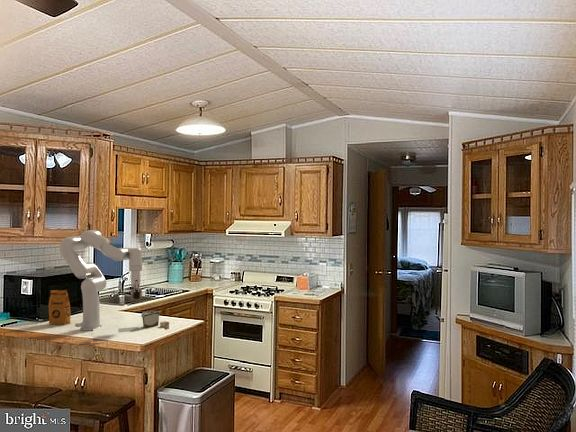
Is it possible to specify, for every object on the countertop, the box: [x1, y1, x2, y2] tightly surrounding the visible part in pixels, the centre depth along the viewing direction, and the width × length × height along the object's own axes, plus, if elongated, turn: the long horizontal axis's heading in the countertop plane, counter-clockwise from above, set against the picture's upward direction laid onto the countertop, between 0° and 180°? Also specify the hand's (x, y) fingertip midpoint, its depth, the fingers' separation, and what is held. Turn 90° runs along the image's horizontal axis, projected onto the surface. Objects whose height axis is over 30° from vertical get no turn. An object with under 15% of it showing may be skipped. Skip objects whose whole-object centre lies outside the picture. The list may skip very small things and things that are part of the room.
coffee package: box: [48, 289, 71, 326], centre depth 308 cm, size 10×12×22 cm
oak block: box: [159, 320, 170, 330], centre depth 293 cm, size 4×4×4 cm
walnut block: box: [130, 287, 143, 301], centre depth 289 cm, size 6×6×6 cm
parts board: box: [117, 326, 141, 333], centre depth 286 cm, size 12×10×1 cm
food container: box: [141, 310, 161, 329], centre depth 294 cm, size 12×6×10 cm, turn 141°
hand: (136, 297), depth 289 cm, fingers closed on walnut block, 6 cm apart
